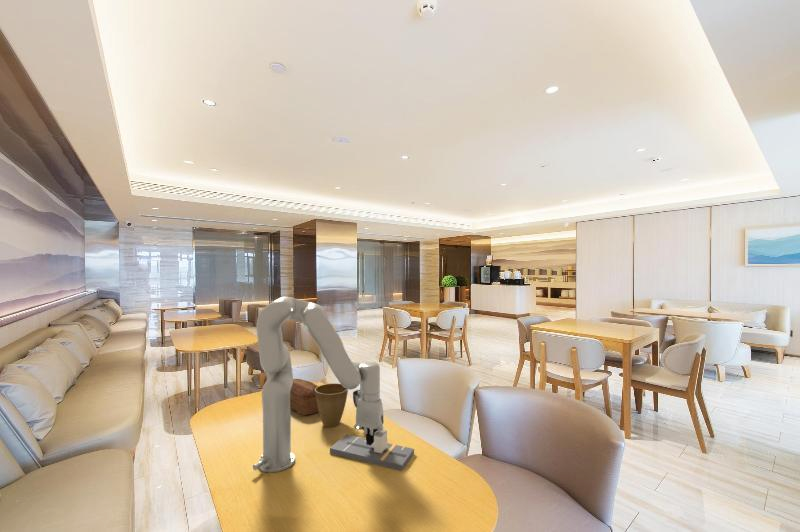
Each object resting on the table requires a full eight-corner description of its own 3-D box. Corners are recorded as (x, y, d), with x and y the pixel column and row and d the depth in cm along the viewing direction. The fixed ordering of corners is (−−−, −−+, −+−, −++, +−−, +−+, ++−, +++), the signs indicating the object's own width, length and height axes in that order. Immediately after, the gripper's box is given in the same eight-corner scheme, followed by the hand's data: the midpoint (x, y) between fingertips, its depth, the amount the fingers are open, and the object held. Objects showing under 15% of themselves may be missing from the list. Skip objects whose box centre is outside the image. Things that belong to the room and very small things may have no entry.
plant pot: (345, 431, 152) (345, 394, 152) (311, 430, 152) (311, 394, 153) (350, 416, 167) (350, 382, 167) (319, 416, 167) (319, 382, 167)
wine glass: (349, 427, 155) (349, 393, 155) (359, 420, 162) (359, 388, 162) (364, 431, 152) (364, 396, 152) (374, 424, 159) (374, 391, 159)
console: (402, 471, 122) (402, 464, 122) (329, 453, 134) (329, 447, 134) (414, 454, 133) (414, 448, 133) (346, 439, 145) (346, 433, 145)
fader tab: (381, 453, 129) (381, 436, 129) (374, 451, 131) (374, 434, 131) (387, 447, 134) (386, 430, 134) (379, 445, 135) (379, 428, 135)
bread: (303, 419, 164) (303, 393, 164) (276, 402, 184) (276, 379, 184) (328, 410, 174) (328, 386, 174) (300, 396, 194) (300, 373, 194)
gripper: (348, 396, 134) (348, 444, 133) (383, 402, 128) (383, 452, 128) (357, 389, 140) (358, 435, 140) (391, 395, 135) (392, 442, 135)
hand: (370, 443), depth 134 cm, fingers closed
